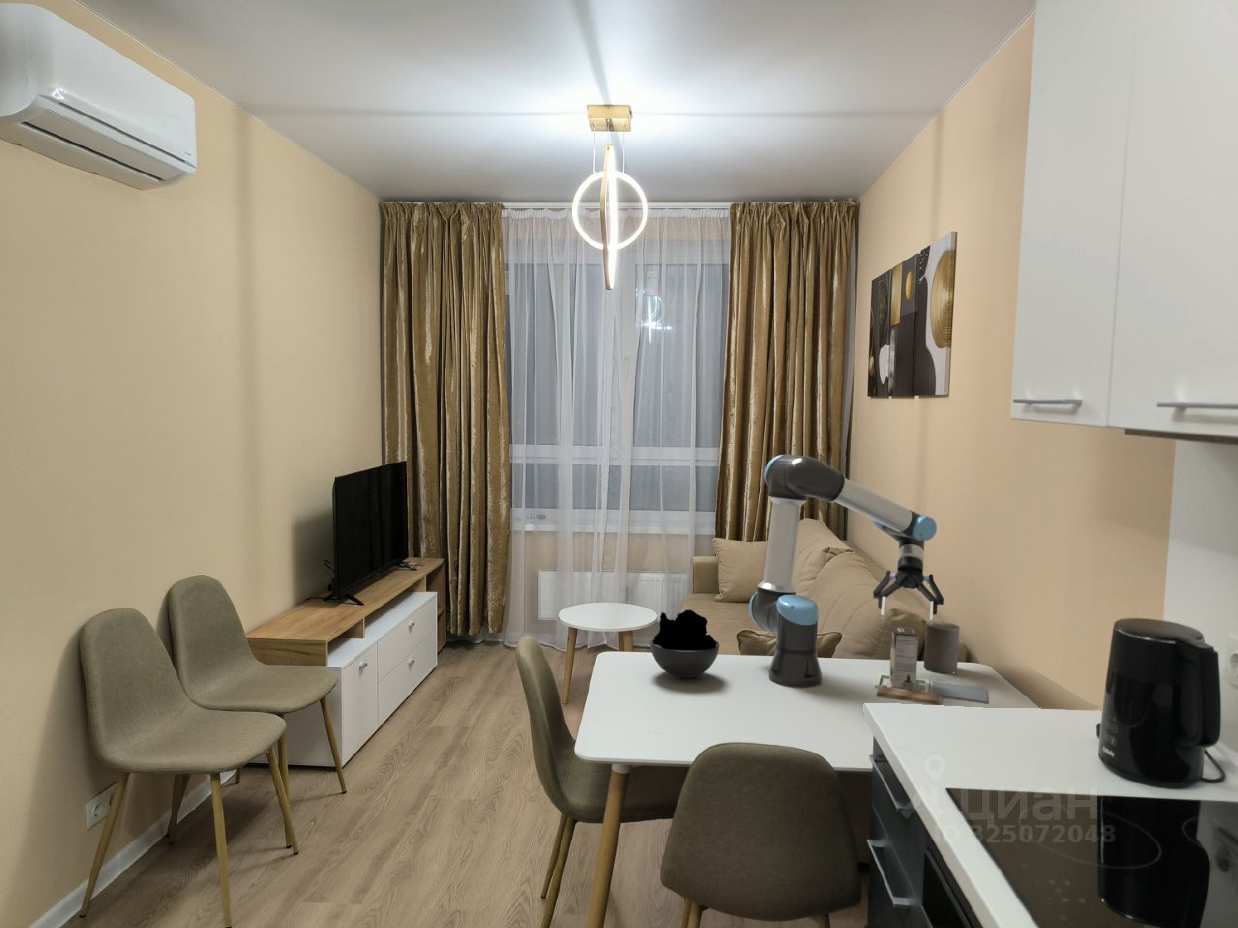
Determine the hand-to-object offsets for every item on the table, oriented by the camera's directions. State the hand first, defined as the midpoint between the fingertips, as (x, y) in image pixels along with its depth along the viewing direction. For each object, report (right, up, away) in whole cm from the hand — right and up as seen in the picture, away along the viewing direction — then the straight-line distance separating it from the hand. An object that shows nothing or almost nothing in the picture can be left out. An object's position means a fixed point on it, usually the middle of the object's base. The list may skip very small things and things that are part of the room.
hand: (906, 619), depth 239 cm
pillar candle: (+13, -17, +8) cm, 23 cm away
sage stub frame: (-4, -17, -9) cm, 20 cm away
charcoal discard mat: (+9, -18, -15) cm, 25 cm away
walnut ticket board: (-6, -17, -19) cm, 27 cm away
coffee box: (-4, -17, -9) cm, 20 cm away
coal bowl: (-67, -15, -6) cm, 69 cm away
